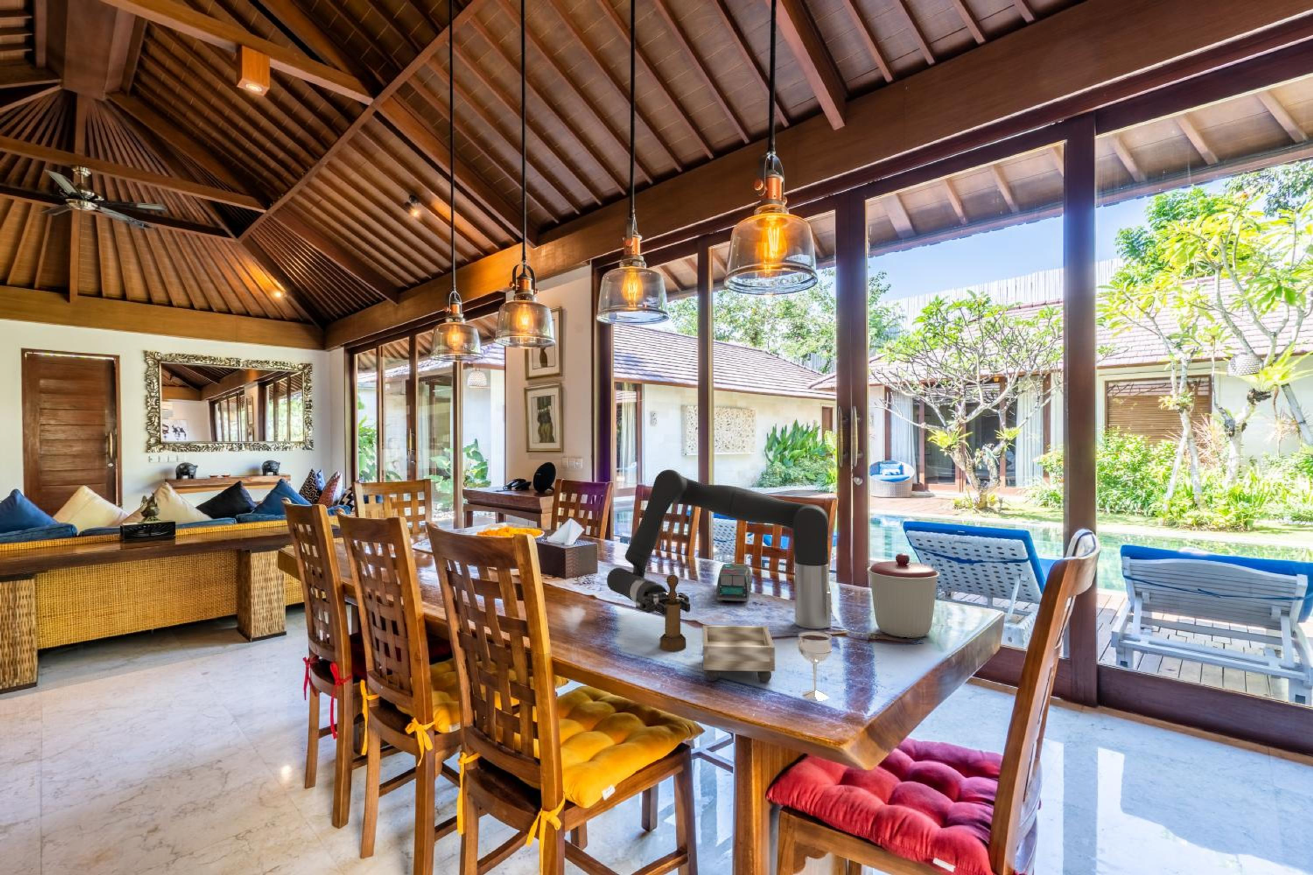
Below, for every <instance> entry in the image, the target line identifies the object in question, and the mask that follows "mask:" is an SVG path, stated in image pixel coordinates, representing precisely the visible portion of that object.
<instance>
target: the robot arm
mask: <svg viewBox="0 0 1313 875" xmlns="http://www.w3.org/2000/svg"><path fill="white" fill-rule="evenodd" d="M672 504H675V505H676V504H677V505H683V506H684V505H685V506H691V507H696V508H701V509H703V510H706V511H708V512H712V513H713V514H717V515H721V516H722V517H727V518H730V519H733V520H738V521H742V522H747V523H754V524H767V525H768V524H769V525H777V526H781V527H785V528H787V529H791V530H792V531H793V532H792V534H793V535H792V536H793V537H792V538H793V539H792V540H793V556H794V624H795V625H796V626H798V627H800V628H803V629H811V630H812V629H814V630H820V629H826V628H827V629H828V628H832V627H831V626H832V621H831V620H832V616H831V615H832V614H831V612H832V610H831V608H832V607H831V604H832V603H831V599H832V598H831V595H832V594H831V592H830V590H829V588H830V586H829V581H830V580H829V576H830V575H829V573H830V572H829V534H828V532H829V529H828V528H829V527H828V526H829V523H830V522H829V516H828V513H827V512H826V511H825V509H824V508H822V507H821V506H820V505H817V504H809V503H804V502H803V503H801V502H794V501H788V500H783V499H779V498H776V497H773V496H771V495H768V494H765V493H762V492H757V491H754V490H751V489H747V488H742V487H738V486H734V485H733V486H732V485H724V484H707V483H702V482H699V481H695V480H692V479H690V478H687V477H685V476H683V475H681V473H679V472H678V471H676V470H674V469H665V470H662V471H660V472H659V473H658V474H657V475H656V477H655V478H654V482H653V484H652V489H651V492H650V495H649V499H648V502H647V505H646V508H645V510H644V513H643V515H642V518H641V520H640V523H639V524H638V527H637V529H636V531H635V533H634V535H633V537H632V540H631V541H630V543H629V545H628V548H627V549H626V552H625V554H624V558H625V560H626V561H627V562H629V563H630V564H631V565H632V568H633V570H632V571H630V570H627V569H625V568H623V567H615V568H613V569H611V570H610V571H609V573H608V574H607V577H606V584H607V587H608V589H609V590H610V591H612V592H615V593H617V594H619V595H622V596H624V597H625V598H627V599H629V600H630V601H632V602H634V603H635V609H637V610H639V611H642V612H644V613H647V614H650V613H654V614H655V613H656V614H657V613H659V614H660V615H663V616H665V615H667V606H665V602H667V601H670V600H669V596H668V593H669V591H668V590H667V589H666V587H664V586H663V585H662V584H660V583H657V582H656V581H653V580H651V579H649V578H645V574H646V571H647V570H646V569H647V565H648V562H649V560H650V559H651V556H652V554H653V551H655V547H656V545H657V542H658V540H659V537H660V533H661V527H662V525H663V521H664V519H665V517H666V515H667V512H668V511H669V508H670V507H671V505H672ZM676 601H679V602H680V603H681V610H682V611H684V612H685V613H689V612H690V610H691V603H690V597H689V596H688V595H686V594H685V593H684V592H678V593H677V598H676Z"/></svg>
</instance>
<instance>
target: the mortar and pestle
mask: <svg viewBox="0 0 1313 875" xmlns="http://www.w3.org/2000/svg"><path fill="white" fill-rule="evenodd" d="M666 584H667V586H668V588H669V591H668V596H669V600H670V601H667V602H665V606H667V615H664V633H663V634H662V635H661V636H660V638H659V648H660V649H661V650H663V651H667V652H679V651H683V650H685V649H687V639H686V637H685V635H683V633H681V631H682V630H681V617H682V616H681V610H682V609H681V603H680V602H679V601H676V598H677V596H678V592H676V589H677V586H678V585H679V577H678V576H677V575H676V574H670V575H668V576H667V578H666Z"/></svg>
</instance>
